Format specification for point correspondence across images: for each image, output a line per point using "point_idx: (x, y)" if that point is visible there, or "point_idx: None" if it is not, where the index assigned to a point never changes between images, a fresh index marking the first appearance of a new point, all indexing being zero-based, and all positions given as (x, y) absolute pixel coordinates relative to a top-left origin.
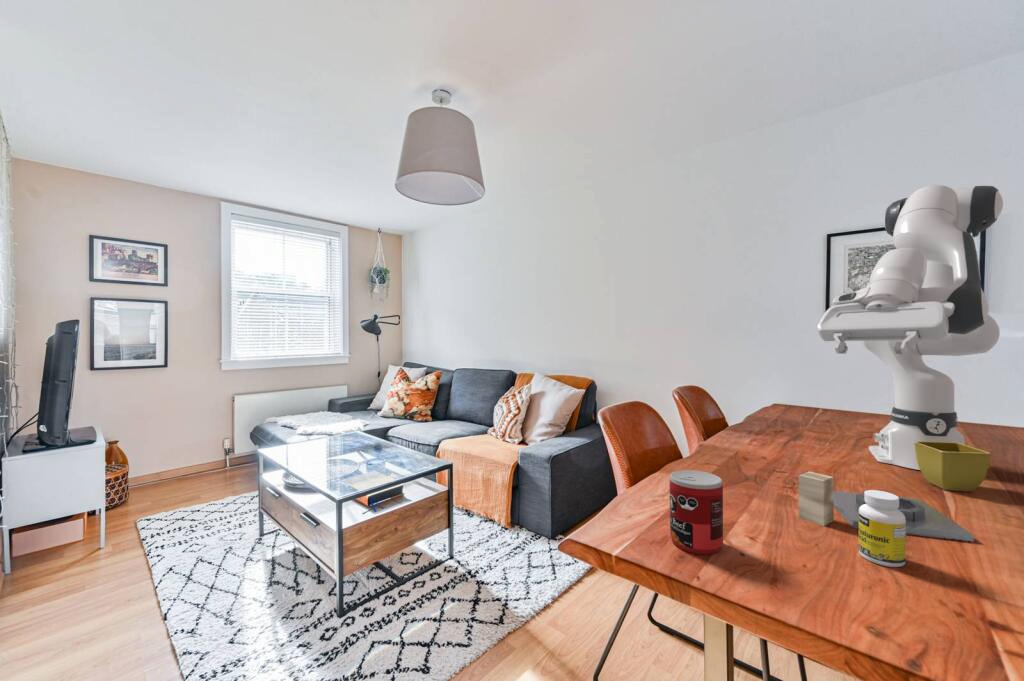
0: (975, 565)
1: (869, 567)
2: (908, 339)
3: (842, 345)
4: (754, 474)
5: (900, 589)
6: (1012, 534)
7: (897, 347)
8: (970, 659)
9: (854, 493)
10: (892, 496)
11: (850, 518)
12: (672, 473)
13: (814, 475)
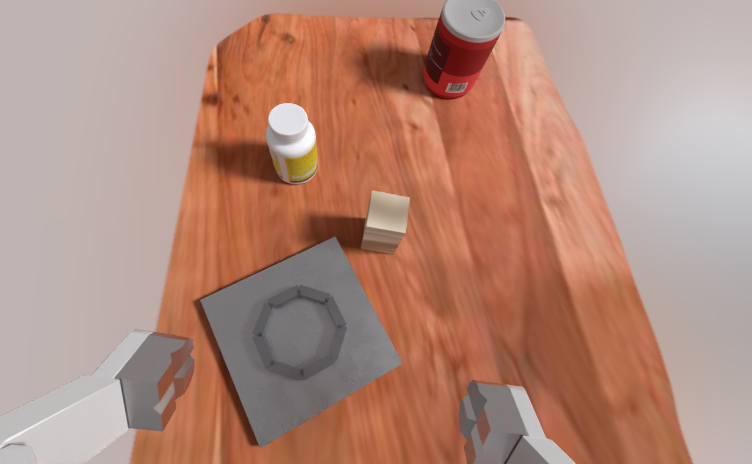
0: (211, 218)
1: None
2: (58, 395)
3: (491, 398)
4: (534, 402)
5: None
6: None
7: (168, 334)
8: (234, 44)
9: (358, 384)
10: (275, 120)
11: (340, 246)
12: (501, 10)
13: (391, 214)
